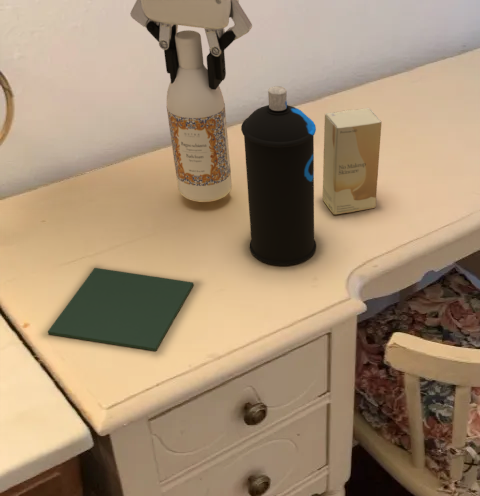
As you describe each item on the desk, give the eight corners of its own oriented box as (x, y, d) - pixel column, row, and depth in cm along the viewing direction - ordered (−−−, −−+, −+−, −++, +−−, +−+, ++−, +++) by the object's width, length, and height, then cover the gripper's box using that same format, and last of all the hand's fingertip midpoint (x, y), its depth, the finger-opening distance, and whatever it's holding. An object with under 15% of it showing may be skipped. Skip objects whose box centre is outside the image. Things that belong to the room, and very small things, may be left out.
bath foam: (172, 201, 107) (149, 44, 93) (185, 175, 112) (165, 21, 98) (226, 205, 107) (211, 48, 93) (236, 178, 112) (223, 25, 98)
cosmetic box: (333, 216, 109) (334, 128, 100) (321, 200, 111) (321, 112, 103) (378, 207, 111) (383, 120, 102) (365, 191, 114) (369, 105, 105)
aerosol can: (261, 272, 99) (251, 111, 85) (241, 235, 104) (229, 78, 91) (326, 258, 102) (326, 101, 88) (303, 224, 107) (300, 70, 93)
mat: (48, 334, 89) (47, 331, 89) (95, 270, 98) (94, 267, 97) (155, 351, 88) (155, 348, 88) (193, 285, 97) (193, 282, 96)
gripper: (268, -90, 89) (273, 78, 102) (117, -108, 90) (141, 61, 103) (248, -71, 83) (256, 104, 96) (88, -90, 85) (117, 86, 97)
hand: (197, 80), depth 99 cm, fingers closed on bath foam, 4 cm apart
